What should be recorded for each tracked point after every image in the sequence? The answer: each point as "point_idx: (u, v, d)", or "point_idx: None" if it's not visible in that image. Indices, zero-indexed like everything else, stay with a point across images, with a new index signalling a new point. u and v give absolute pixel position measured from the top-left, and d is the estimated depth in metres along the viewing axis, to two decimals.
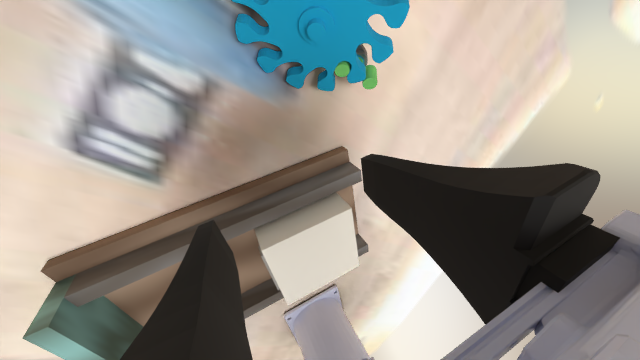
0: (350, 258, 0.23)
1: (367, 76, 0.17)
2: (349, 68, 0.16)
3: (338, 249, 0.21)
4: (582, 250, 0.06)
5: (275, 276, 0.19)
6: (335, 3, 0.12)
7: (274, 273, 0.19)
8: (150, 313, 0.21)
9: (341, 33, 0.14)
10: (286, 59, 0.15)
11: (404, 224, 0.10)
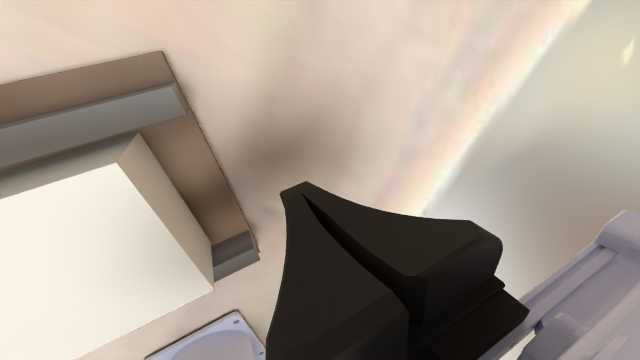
0: (178, 276, 0.11)
1: None
2: None
3: (128, 261, 0.10)
4: (483, 326, 0.05)
5: None
6: None
7: None
8: None
9: None
10: None
11: None
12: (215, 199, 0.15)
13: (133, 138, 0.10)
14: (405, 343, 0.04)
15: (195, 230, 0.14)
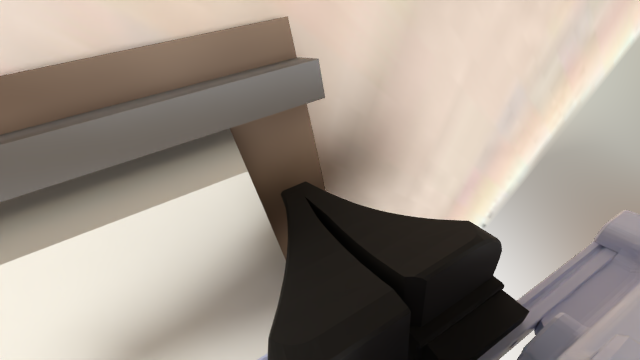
0: None
1: None
2: None
3: (234, 300, 0.07)
4: (482, 327, 0.05)
5: None
6: None
7: None
8: None
9: None
10: None
11: None
12: None
13: (232, 136, 0.08)
14: (407, 342, 0.04)
15: None
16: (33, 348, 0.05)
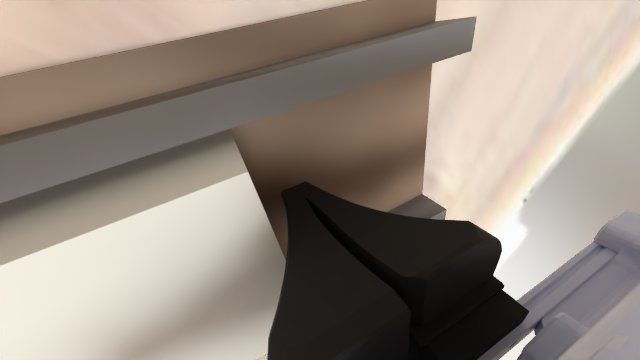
0: None
1: None
2: None
3: (234, 301, 0.07)
4: (482, 327, 0.05)
5: None
6: None
7: None
8: None
9: None
10: None
11: None
12: (413, 157, 0.14)
13: (232, 136, 0.08)
14: (407, 342, 0.04)
15: None
16: (34, 348, 0.05)
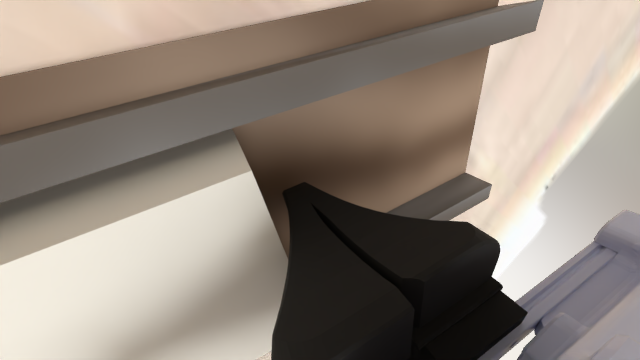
0: None
1: None
2: None
3: (236, 299, 0.07)
4: (481, 329, 0.05)
5: None
6: None
7: None
8: None
9: None
10: None
11: None
12: (462, 136, 0.15)
13: (234, 136, 0.08)
14: (410, 339, 0.04)
15: None
16: (38, 346, 0.05)
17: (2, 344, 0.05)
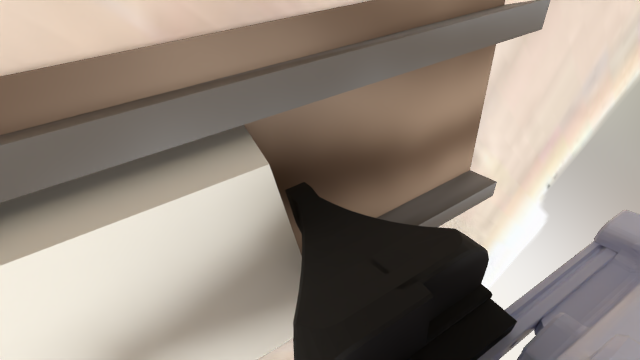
0: (294, 307, 0.09)
1: None
2: None
3: (250, 292, 0.08)
4: (469, 338, 0.05)
5: None
6: None
7: None
8: None
9: None
10: None
11: None
12: (467, 133, 0.16)
13: (247, 132, 0.08)
14: (426, 327, 0.04)
15: None
16: (60, 336, 0.05)
17: (26, 334, 0.05)
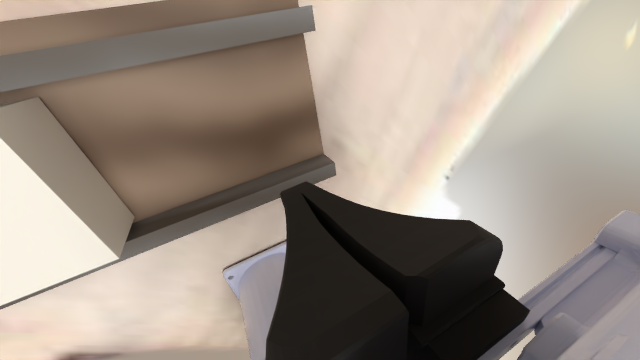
0: (73, 241, 0.11)
1: None
2: None
3: (9, 220, 0.10)
4: (483, 326, 0.05)
5: None
6: None
7: None
8: None
9: None
10: None
11: None
12: (306, 119, 0.18)
13: (24, 100, 0.11)
14: (405, 343, 0.04)
15: (108, 201, 0.14)
16: None
17: None
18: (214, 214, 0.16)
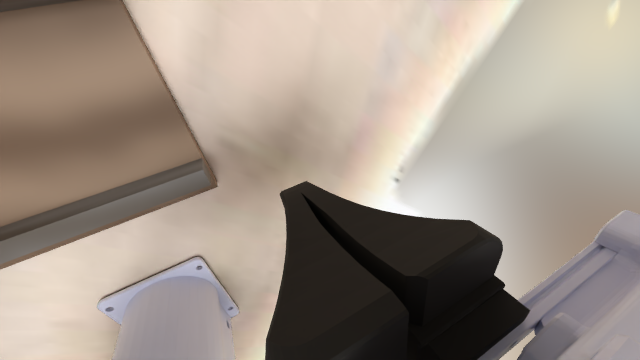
0: None
1: None
2: None
3: None
4: (483, 326, 0.05)
5: None
6: None
7: None
8: None
9: None
10: None
11: None
12: (160, 115, 0.14)
13: None
14: (405, 343, 0.04)
15: None
16: None
17: None
18: (20, 242, 0.12)
